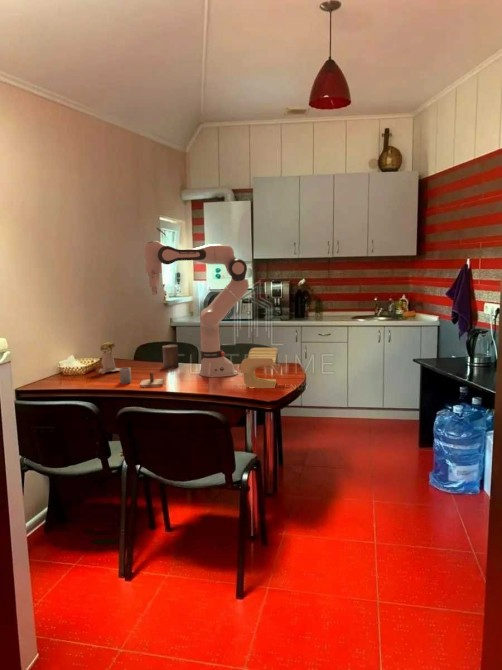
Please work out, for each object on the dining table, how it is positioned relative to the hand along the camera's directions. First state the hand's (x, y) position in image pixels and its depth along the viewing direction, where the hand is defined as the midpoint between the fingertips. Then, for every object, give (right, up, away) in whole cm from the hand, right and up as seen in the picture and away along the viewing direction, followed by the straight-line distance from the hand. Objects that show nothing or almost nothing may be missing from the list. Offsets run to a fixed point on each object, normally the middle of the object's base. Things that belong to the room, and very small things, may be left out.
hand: (154, 294), depth 291 cm
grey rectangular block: (-15, -50, -6) cm, 52 cm away
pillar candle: (+4, -44, +32) cm, 55 cm away
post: (+1, -50, -12) cm, 52 cm away
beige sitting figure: (-32, -46, +23) cm, 60 cm away
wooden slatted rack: (+60, -50, -19) cm, 81 cm away
